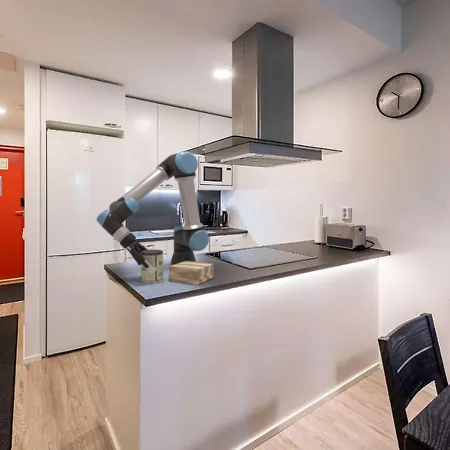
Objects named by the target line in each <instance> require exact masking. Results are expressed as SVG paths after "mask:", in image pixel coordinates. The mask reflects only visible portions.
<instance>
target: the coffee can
mask: <svg viewBox="0 0 450 450" xmlns="http://www.w3.org/2000/svg"><path fill="white" fill-rule="evenodd" d="M163 253H164V250H163V249H148V250H144V251H141V255H142V257H143V258H144V260H146V261H147V262H148V263H149V264H150V265H151V266H152V267H153V268H154V269H155V270H156V271H154V272H153V273H152V274H150V273H149V272H148V271H147V270H146V269H145V268H144V267H143V266H142V265H140V267H141V269H140V271H141V280H140V281H141V282H142V283H146V284H155V283H161V282H162V281H164V260H163V259H164V255H163Z"/></svg>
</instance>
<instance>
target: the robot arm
mask: <svg viewBox="0 0 450 450" xmlns="http://www.w3.org/2000/svg"><path fill="white" fill-rule="evenodd" d="M198 166H199V162H198V158H197V157H196V156H195V155H194V154H193V153H191V152H189V151H180V152H177V153H174V154H170V155H169V156H167V157H166V158H165V159H163V160H162V161H161V162H160V164H157V165H156V167H155V169H154V170H153V171H152V172H151V173H149V174H148V175H147V176H146V177H145V178H143V179H142V180H141V181H139V183H137V184H136V185H135V186H133V187H132V188H130V190H128V191H127V192H125V194H123V195H122V196H121V197H119V198H118V199H117V200H115V201H112V202H111V203H109V206H108V209H105V210H103V211H102V212H100V213H99V214H98V215H97V216H96V222H97V223H98V224H99V225H100V226H101V227H102V228H103V229H104V230H105V232H107V234H109V235H110V236H111V237H112V238H113V241H116V242H117V243H119V245H120V246H121V247H122V248H123V249H126V251H128V252H129V254H130V255H131V257H132V258H133V260H134V261H135V262H136V263H137V265H138V266H140V267H141V265H142V266H143V267H144V268H145V269H146V270H147V271H148V272H149V273H150V274H152V273H153V272H154V271H156V270H155V269H154V268H153V267H152V266H151V265H150V264H149V263H148V262H147V261H146V260H144V258H143V257H142V255H141V251H144V250H149V249H148V248H147V247H145V246H144V245H143V244H141V243H140V242H139V241H138V240H137V241H135V240H136V239H137V237H136V236H135V234H133V233H132V232H131V231H130V230H129V229H128V227H126V226H125V224H123V223H124V222H125V221H127V220H128V219H130V217H132V216H133V215H134V214H135V213H136V212H137V211H138V210H139V208H140V206H139V204H138V203H139V202H140V201H142V200H143V199H144V198H146V196H147V195H149V194H150V193H151V192H153V191H154V190H155V189H156V188H157V187H158V186H160V185H161V184H162V183H164V182H165V181H169V180H170V179H171V178H173V177H174V180H175V181H176V182H177V185H178V191H179V196H180V203H181V204H180V205H181V210H182V215H183V222H184V225H183V226H182V225H181V226H175V227H174V228H173V233H172V234H173V252H172V255H171V260H170V266H172V265H175V264H178V263H181V262H184V261H192V262H197V260H196V256H195V253H194V252H201V251H203V250H205V249H206V248H207V246H208V245H209V242H210V236H209V234H208V233H207V231H205V227H204V226H205V225H204V224H203V223H201V219H200V212H199V205H198V200H197V194H196V193H197V192H196V187H195V178H196V176H197V175H196V171H197V169H198Z"/></svg>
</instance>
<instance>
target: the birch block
mask: <svg viewBox="0 0 450 450" xmlns="http://www.w3.org/2000/svg"><path fill="white" fill-rule="evenodd" d="M214 269H215V264H214V263H210V262H202V261H196V262H192V261H184V262H181V263H178V264H175V265H169V266H168V282H173V283H179V284H187V285H193V286H199V284H200V285H201V283H202V284H203V282H204V283H206V282H207V280H208V281H209V279H210V280H211V278H212V279H213V277H215V276H214V275H215V274H214V272H215V271H214ZM205 281H206V282H205Z"/></svg>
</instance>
